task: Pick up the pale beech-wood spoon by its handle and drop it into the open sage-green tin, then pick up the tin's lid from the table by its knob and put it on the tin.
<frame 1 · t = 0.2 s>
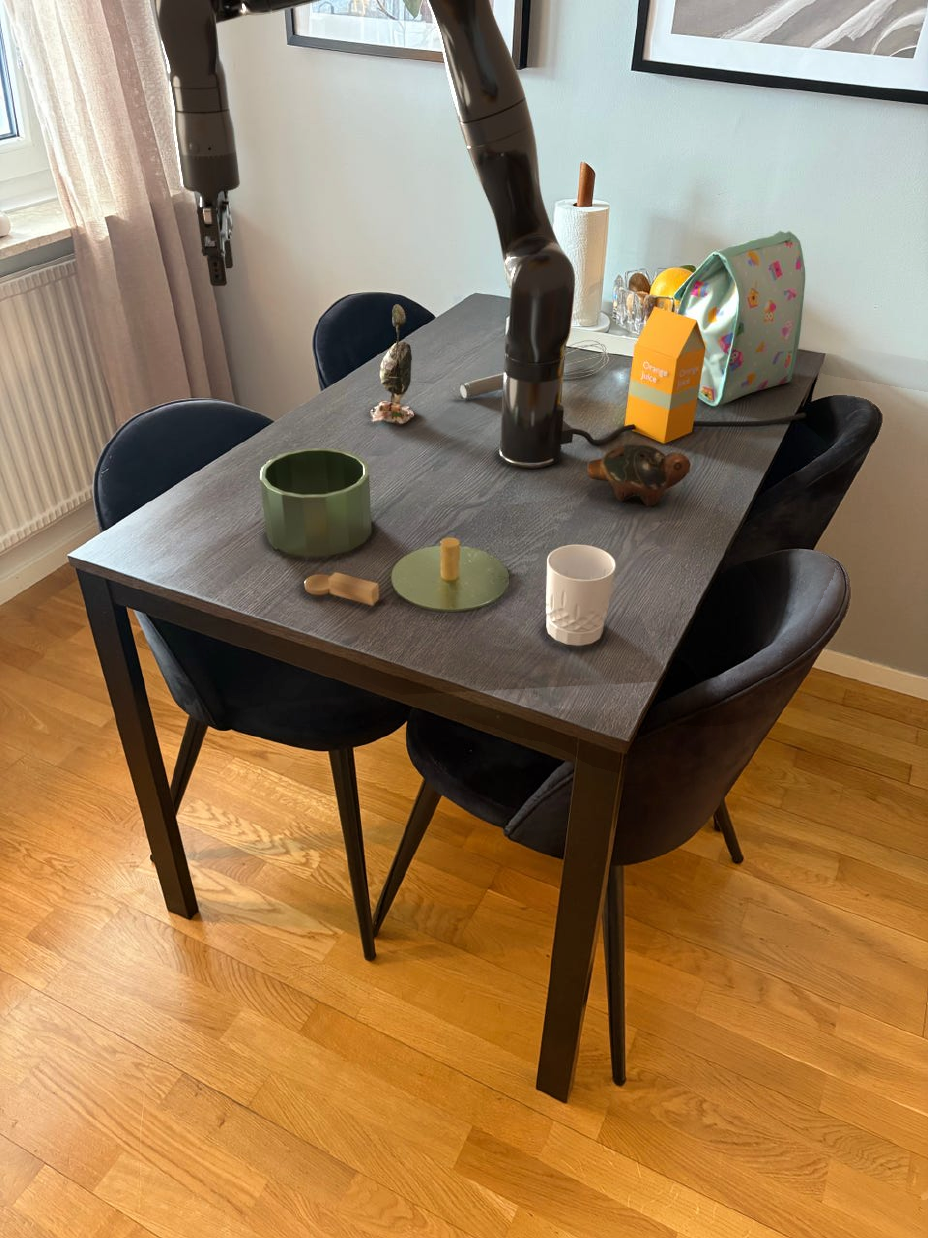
hand: (222, 276, 133), 29 cm above the table, tool pointing down, fingers open, 8 cm apart
plant with pod: (393, 415, 167), on the table
decorative turtle: (634, 495, 145), on the table
lid: (450, 578, 124), point 1 cm above the table
tin: (319, 532, 134), on the table
orange juice: (657, 430, 164), on the table
lunch bag: (726, 386, 181), on the table
spoon: (341, 595, 121), on the table
kitchen whisk: (534, 385, 180), on the table
white cup: (574, 633, 116), on the table
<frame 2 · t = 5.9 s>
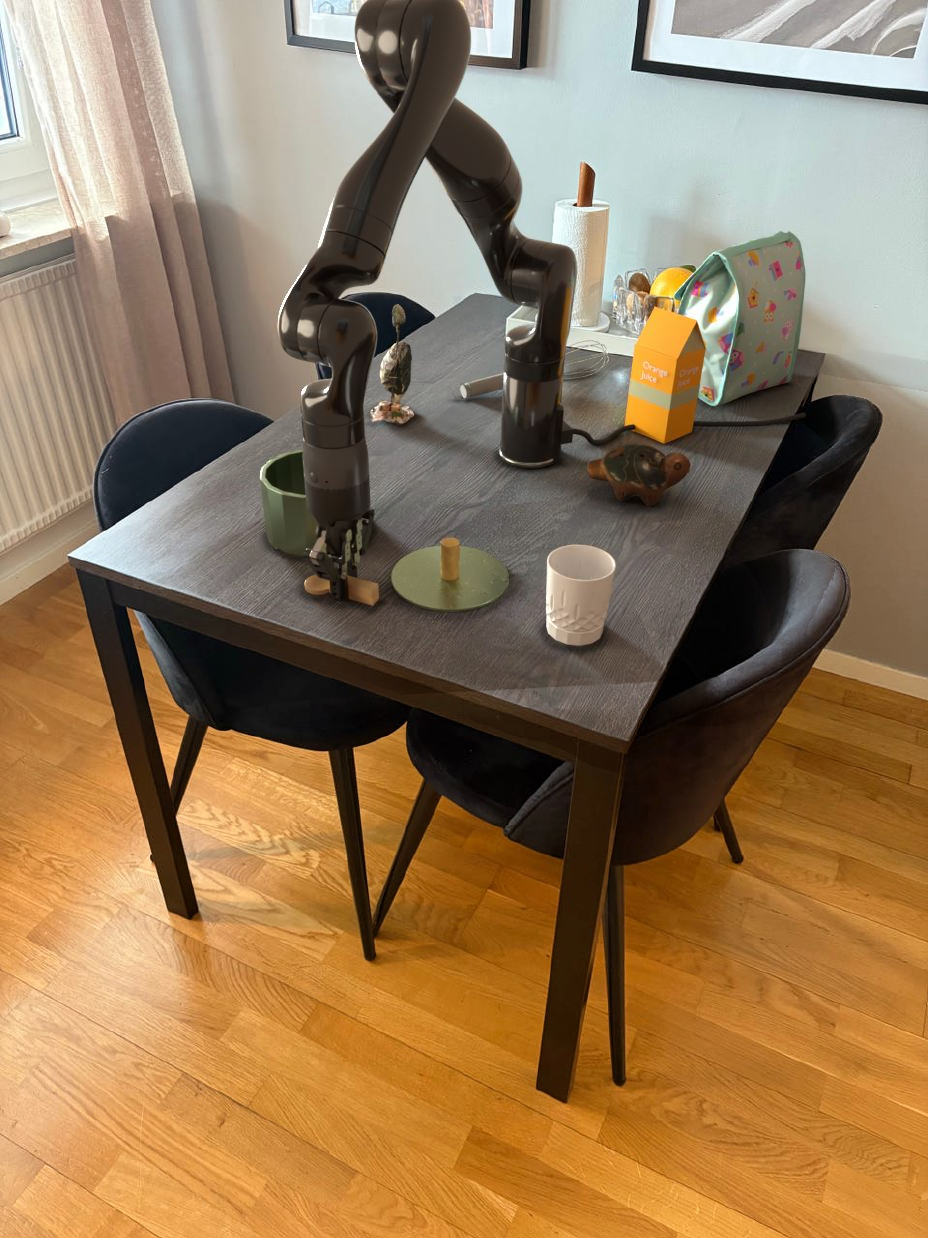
hand: (344, 595, 121), 0 cm above the table, tool pointing down, fingers closed on spoon
spoon: (341, 595, 121), on the table, touching gripper
everything else where it was.
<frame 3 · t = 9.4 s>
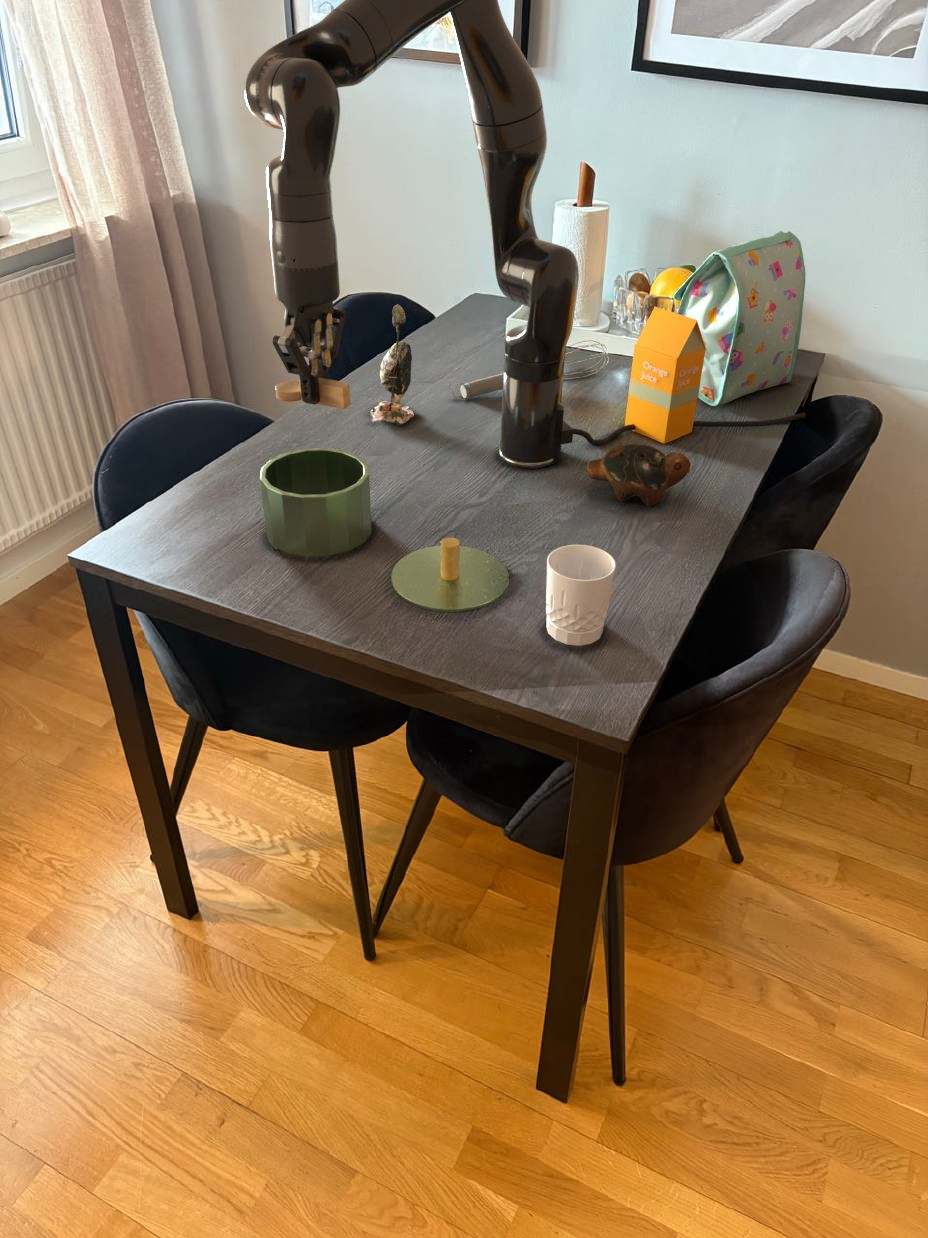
hand: (316, 398, 120), 21 cm above the table, tool pointing down, fingers closed on spoon
spoon: (312, 399, 120), point 21 cm above the table, touching gripper
everything else where it was.
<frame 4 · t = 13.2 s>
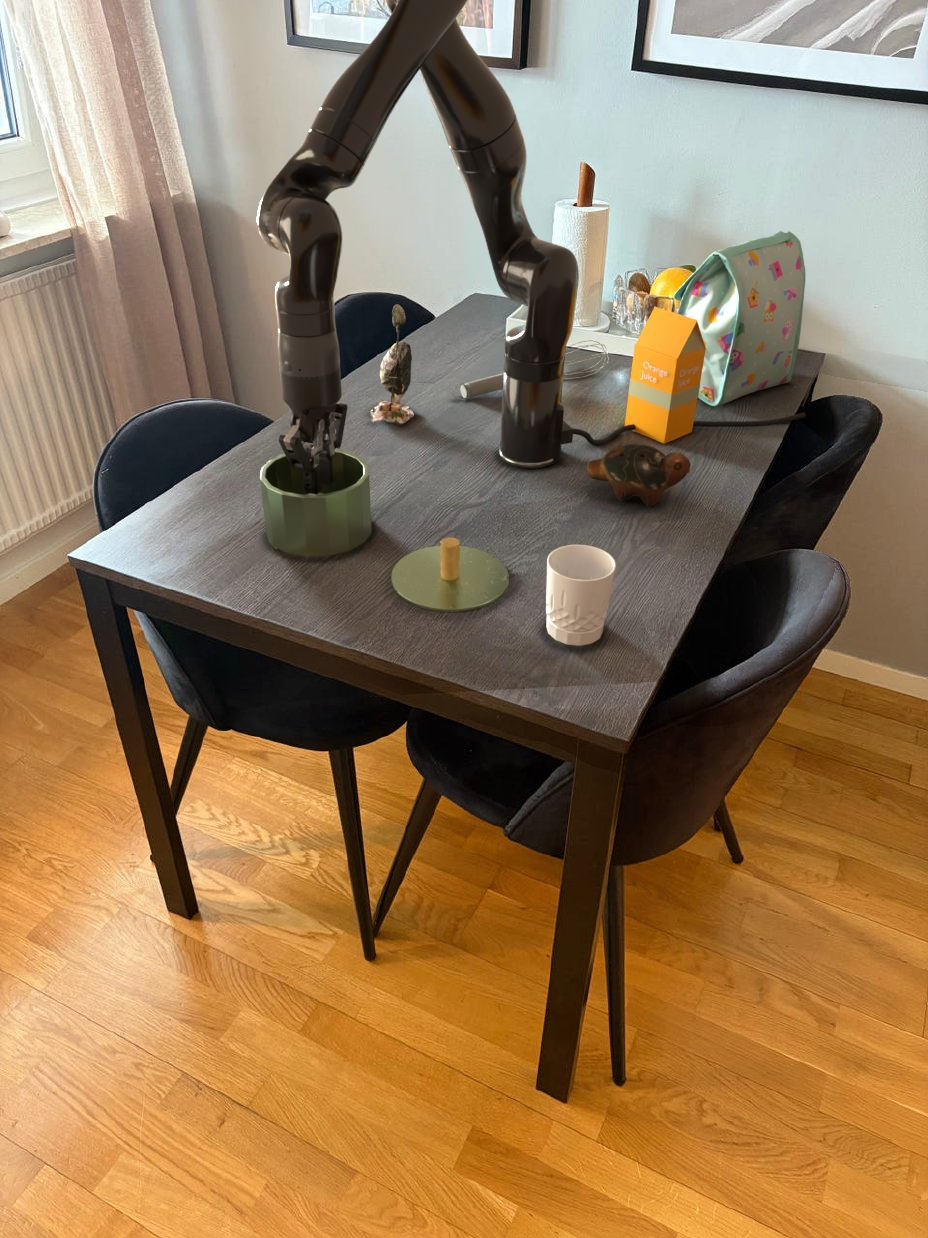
hand: (319, 486, 129), 7 cm above the table, tool pointing down, fingers closed
spoon: (318, 513, 132), point 3 cm above the table
everything else where it was.
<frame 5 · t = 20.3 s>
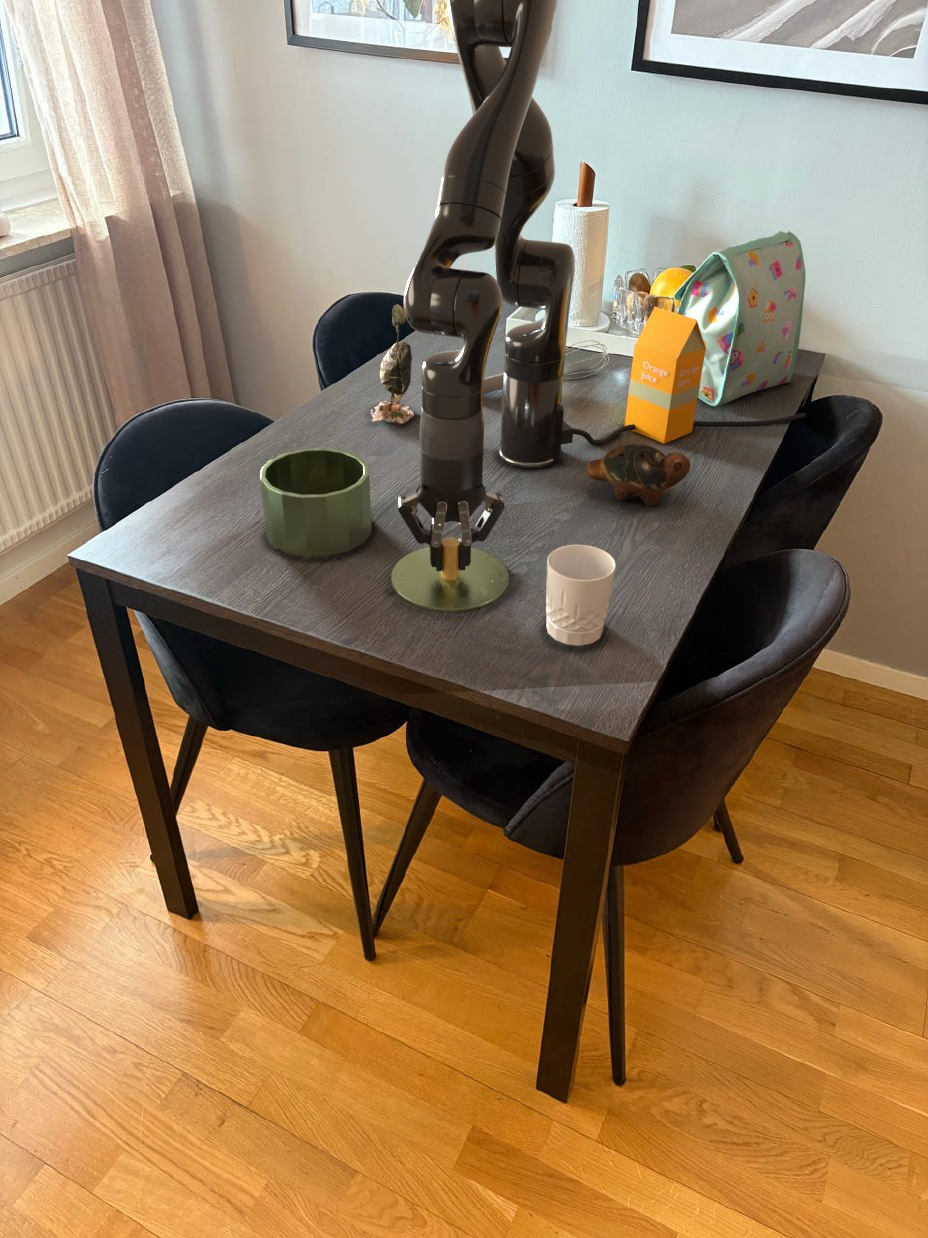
hand: (450, 567, 123), 2 cm above the table, tool pointing down, fingers closed on lid, 2 cm apart
lid: (450, 578, 124), point 1 cm above the table, touching gripper
spoon: (319, 529, 133), resting on tin
everything else where it was.
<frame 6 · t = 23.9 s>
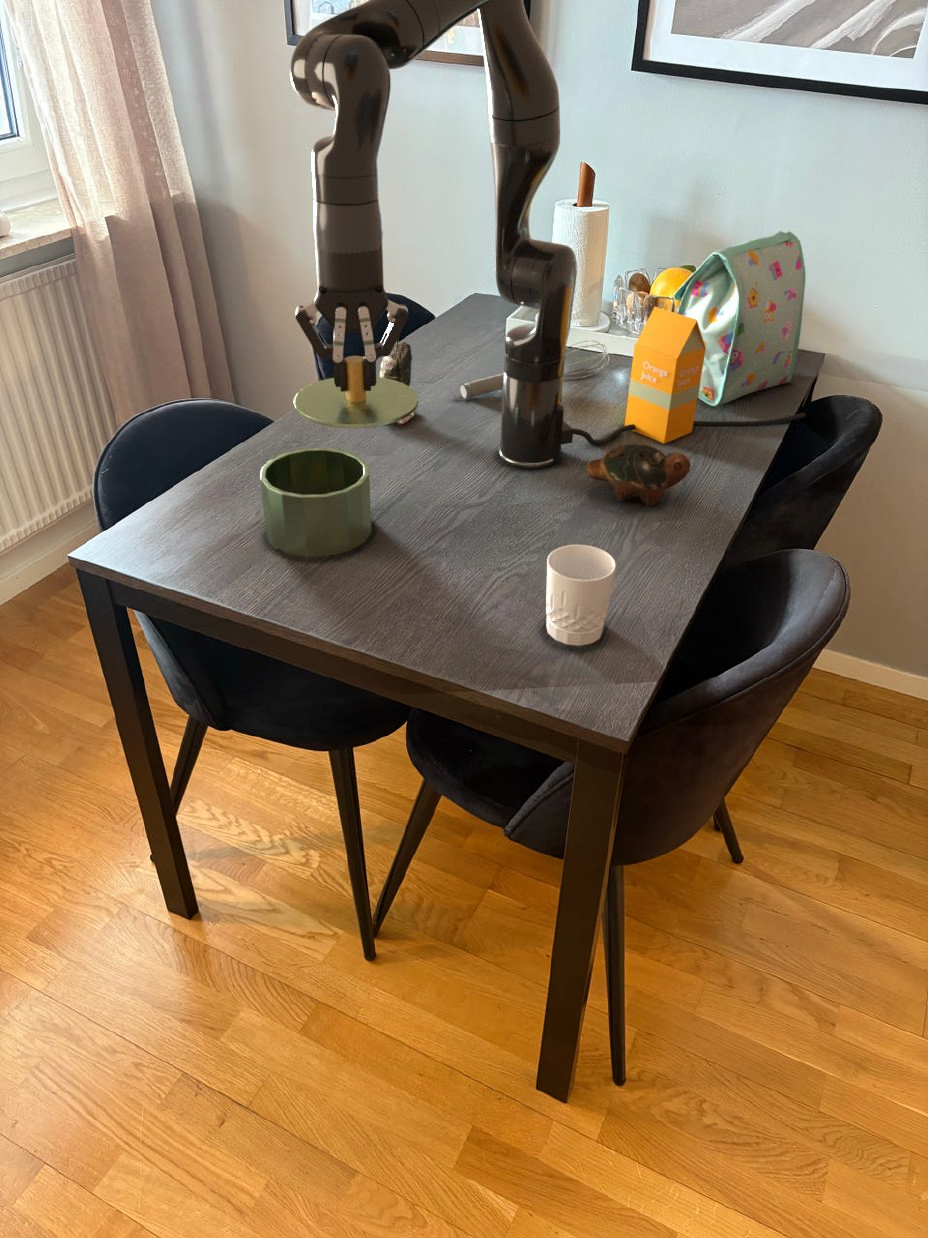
hand: (355, 388, 117), 23 cm above the table, tool pointing down, fingers closed on lid, 2 cm apart
lid: (356, 402, 118), point 21 cm above the table, touching gripper
everything else where it was.
when the fingers open (11 cm above the table, at t = 27.5 s): lid stays where it is, resting on tin.
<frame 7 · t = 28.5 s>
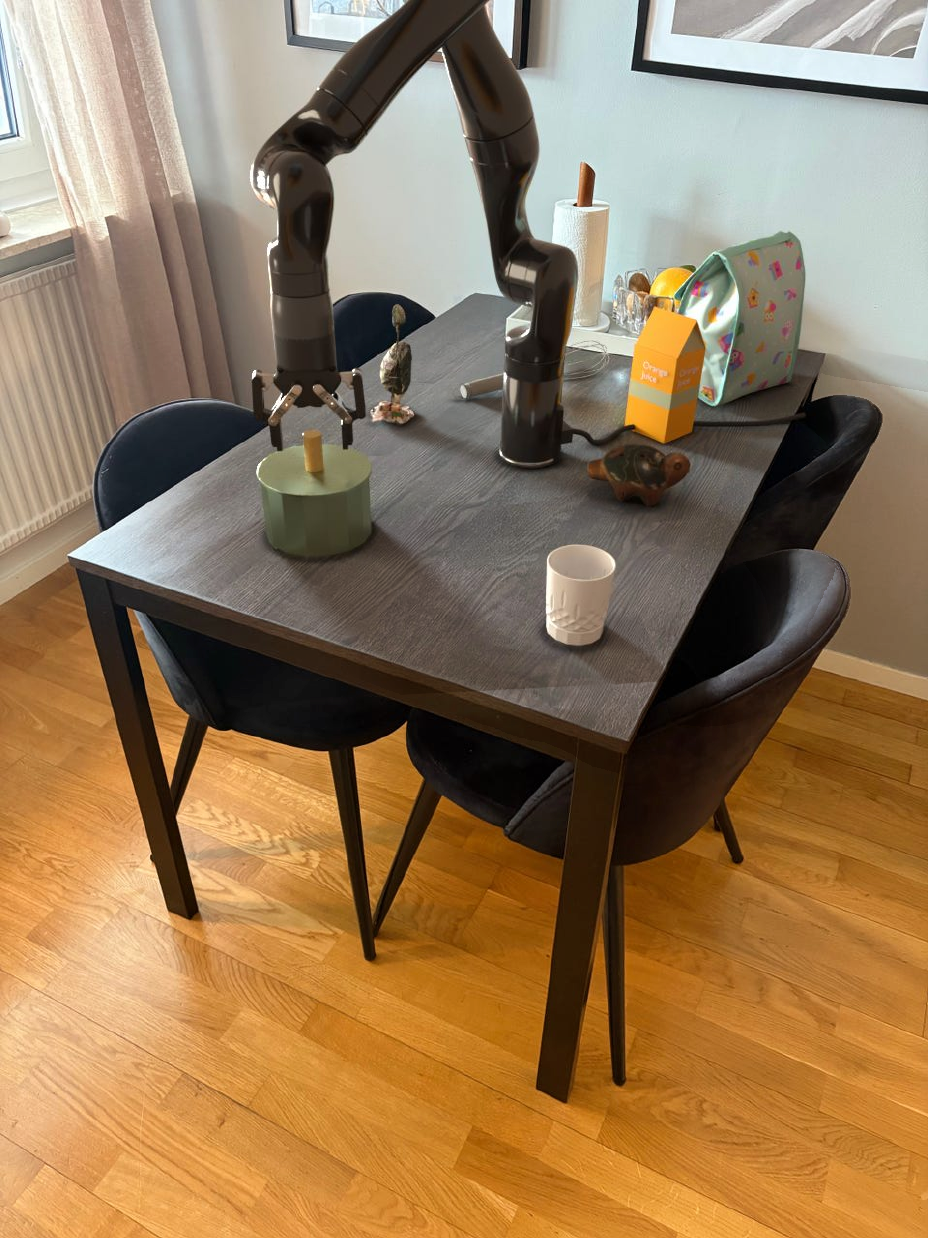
hand: (313, 447, 126), 13 cm above the table, tool pointing down, fingers open, 8 cm apart
lid: (314, 471, 128), point 9 cm above the table, touching tin
everything else where it was.
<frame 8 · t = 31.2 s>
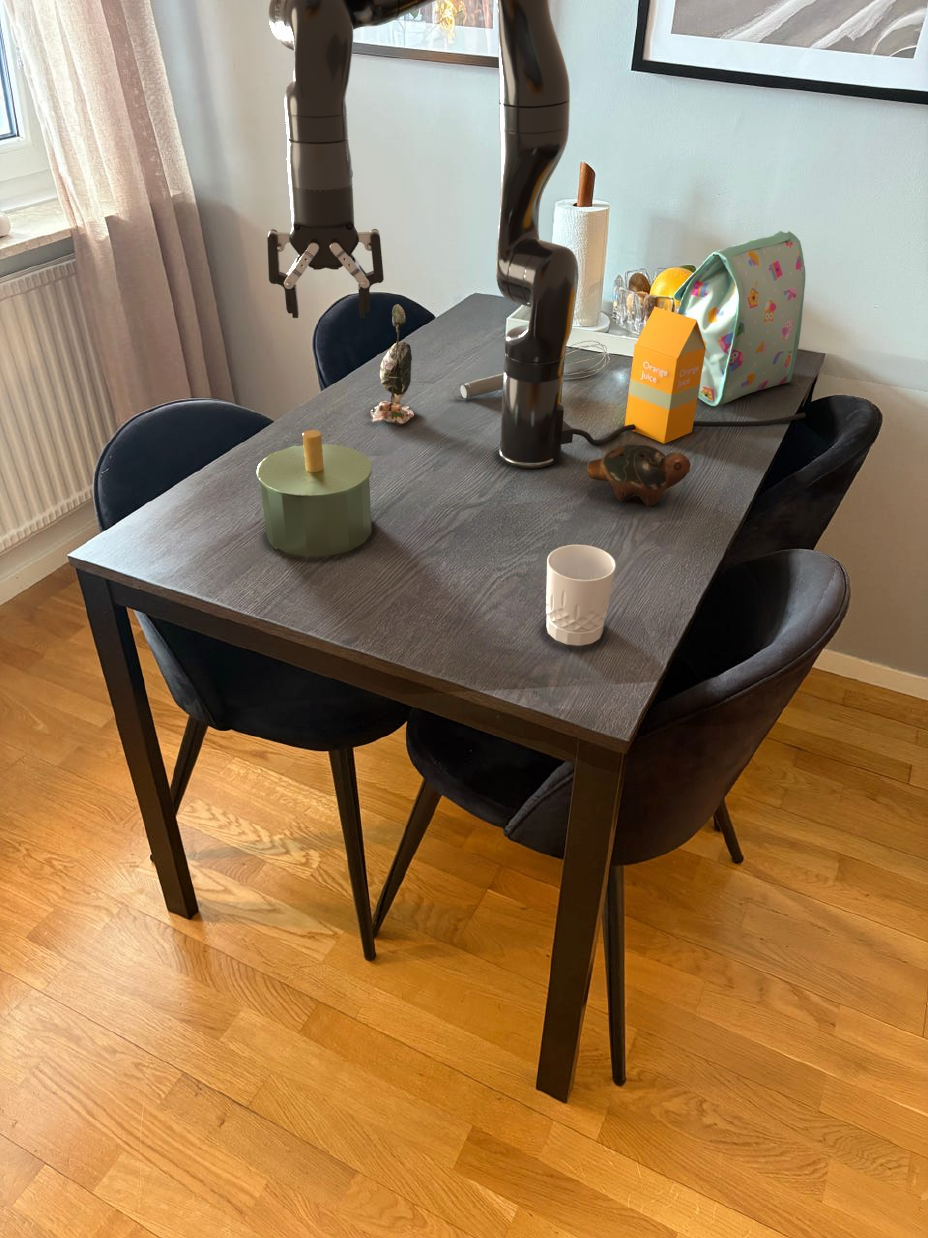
hand: (329, 315, 123), 28 cm above the table, tool pointing down, fingers open, 8 cm apart
nothing on the table moved.
at the end: spoon inside the target area in the tin (0.0 cm from its centre), point 0.5 cm above the tin's base; lid 0.1 cm off-centre on the tin, point 9.5 cm above the tin's base; lid tilted 0° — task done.
